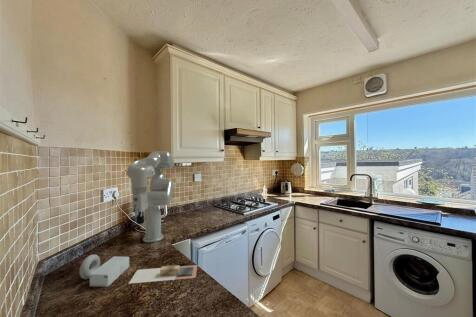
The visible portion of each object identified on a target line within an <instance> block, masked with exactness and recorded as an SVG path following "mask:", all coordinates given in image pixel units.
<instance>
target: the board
mask: <svg viewBox="0 0 476 317" xmlns="http://www.w3.org/2000/svg"><path fill="white" fill-rule="evenodd" d="M185 267H194V268H193V274H192V276H180V277H177V275H169V276H160V269H161V267H155V268H143V269H142V268H141V269H137V270H136V271H135V273H134V275H133V276H132V278H131V279H130V280H129V282H128V285H129V284H139V283H140V284H141V283H151V282H152V283H153V282H162V281H175V280H188V279H195V278H197V271H198V264H193V265H183V266H182V265H181V266H180V268H185Z"/></svg>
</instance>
